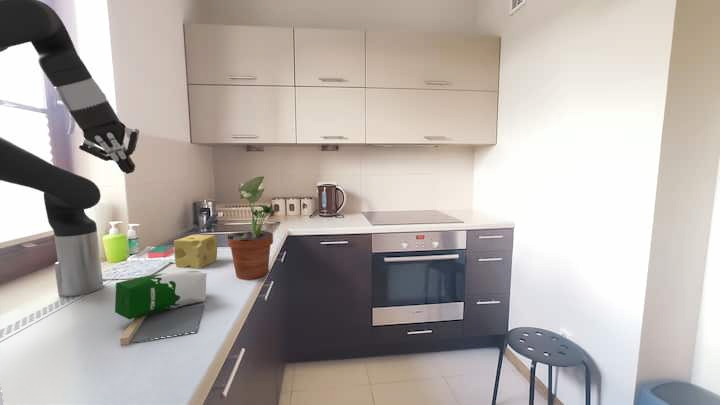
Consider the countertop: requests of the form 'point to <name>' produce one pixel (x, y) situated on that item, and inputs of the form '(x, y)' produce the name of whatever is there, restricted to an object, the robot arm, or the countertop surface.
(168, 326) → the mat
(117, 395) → the countertop surface
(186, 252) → the cheese
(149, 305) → the white and green box
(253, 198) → the potted plant
